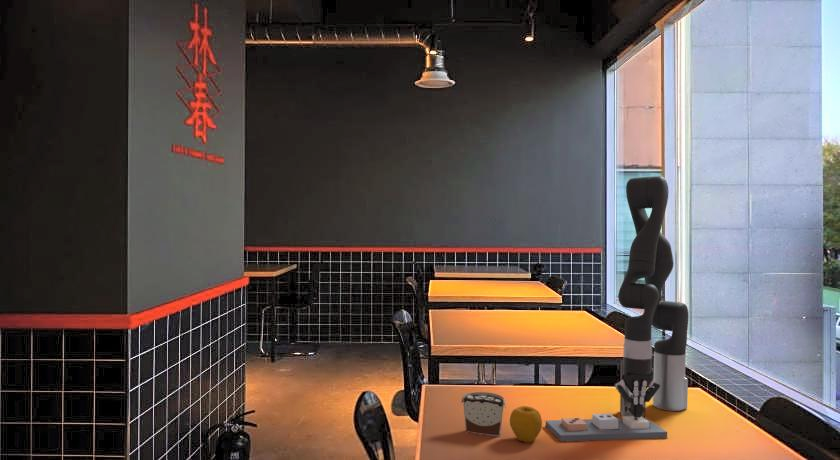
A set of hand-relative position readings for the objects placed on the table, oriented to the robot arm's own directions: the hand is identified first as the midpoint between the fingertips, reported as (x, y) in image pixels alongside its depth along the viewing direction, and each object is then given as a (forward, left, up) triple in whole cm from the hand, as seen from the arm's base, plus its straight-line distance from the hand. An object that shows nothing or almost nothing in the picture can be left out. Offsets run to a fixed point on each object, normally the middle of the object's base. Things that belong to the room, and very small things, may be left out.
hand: (636, 416), depth 173 cm
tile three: (+18, 0, -3) cm, 18 cm away
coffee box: (-5, -12, -4) cm, 14 cm away
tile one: (0, 0, -3) cm, 3 cm away
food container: (+42, -4, -4) cm, 42 cm away
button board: (+9, 0, -4) cm, 10 cm away
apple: (+33, +4, -4) cm, 34 cm away
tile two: (+9, 0, -2) cm, 9 cm away
